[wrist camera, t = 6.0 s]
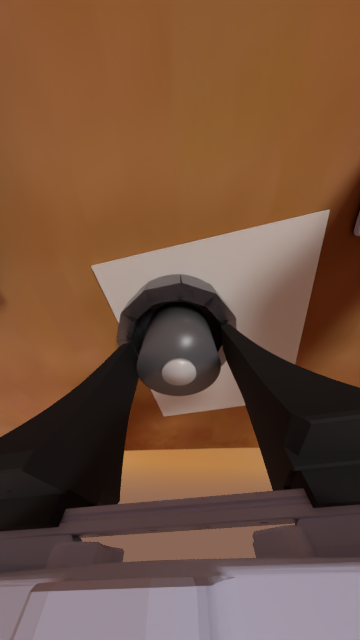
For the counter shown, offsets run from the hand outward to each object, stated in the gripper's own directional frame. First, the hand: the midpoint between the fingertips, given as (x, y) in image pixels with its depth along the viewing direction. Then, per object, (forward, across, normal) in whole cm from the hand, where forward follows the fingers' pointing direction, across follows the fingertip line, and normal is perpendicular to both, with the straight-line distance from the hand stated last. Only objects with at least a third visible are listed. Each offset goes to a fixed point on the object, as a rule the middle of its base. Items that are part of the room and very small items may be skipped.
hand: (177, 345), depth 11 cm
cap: (+2, 0, 0) cm, 2 cm away
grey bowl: (+3, 0, 0) cm, 3 cm away
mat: (+3, -3, +4) cm, 6 cm away
